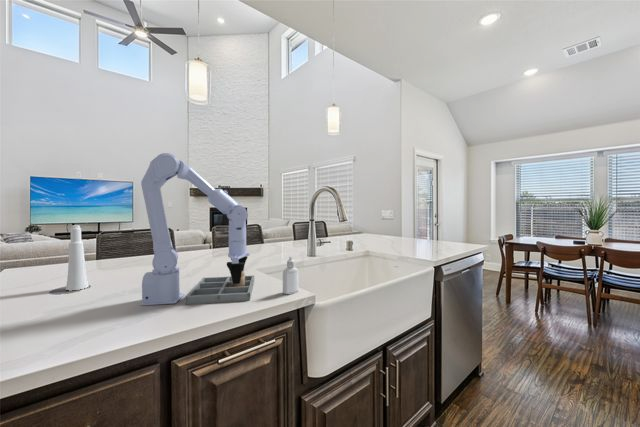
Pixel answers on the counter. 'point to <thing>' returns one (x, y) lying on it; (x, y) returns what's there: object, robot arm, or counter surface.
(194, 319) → the counter surface
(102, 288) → the counter surface
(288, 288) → the eye dropper bottle
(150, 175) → the robot arm
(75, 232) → the cosmetic bottle
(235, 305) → the counter surface
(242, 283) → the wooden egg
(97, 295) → the counter surface
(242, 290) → the grey compartment tray
